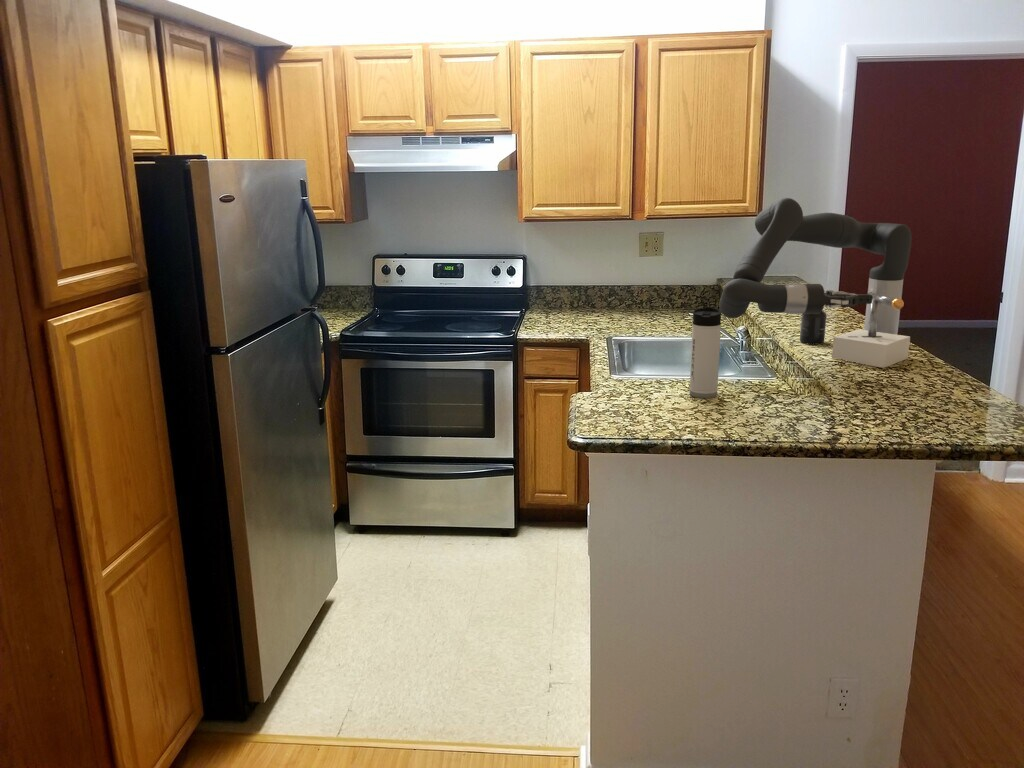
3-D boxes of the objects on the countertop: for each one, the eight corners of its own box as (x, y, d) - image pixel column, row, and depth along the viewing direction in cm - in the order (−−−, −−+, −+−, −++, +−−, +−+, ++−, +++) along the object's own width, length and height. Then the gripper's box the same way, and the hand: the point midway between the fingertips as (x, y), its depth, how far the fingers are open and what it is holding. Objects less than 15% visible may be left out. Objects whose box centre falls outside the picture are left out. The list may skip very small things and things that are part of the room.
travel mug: (718, 391, 187) (722, 307, 182) (715, 399, 181) (720, 312, 176) (691, 389, 189) (694, 306, 184) (687, 397, 183) (691, 311, 178)
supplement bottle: (826, 345, 231) (829, 304, 227) (801, 344, 232) (804, 303, 229) (822, 340, 237) (825, 300, 234) (798, 339, 238) (801, 299, 235)
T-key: (861, 333, 215) (865, 290, 212) (870, 333, 215) (875, 290, 212) (891, 345, 201) (896, 299, 198) (901, 344, 202) (906, 299, 199)
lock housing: (856, 350, 224) (858, 328, 222) (907, 358, 213) (910, 336, 212) (831, 358, 215) (833, 336, 213) (883, 367, 205) (886, 344, 203)
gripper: (811, 287, 194) (883, 287, 193) (794, 280, 207) (862, 280, 206) (808, 318, 196) (880, 318, 195) (791, 309, 208) (859, 309, 208)
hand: (870, 299), depth 201 cm, fingers closed
